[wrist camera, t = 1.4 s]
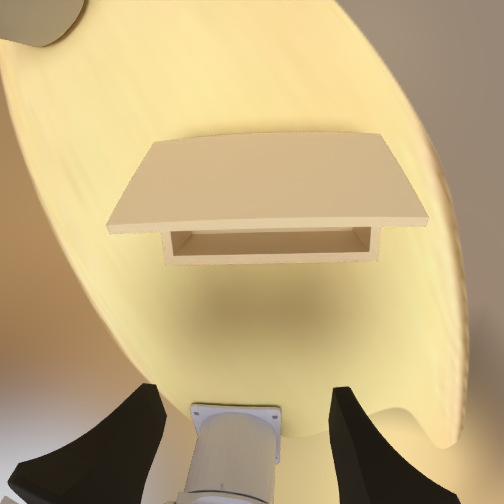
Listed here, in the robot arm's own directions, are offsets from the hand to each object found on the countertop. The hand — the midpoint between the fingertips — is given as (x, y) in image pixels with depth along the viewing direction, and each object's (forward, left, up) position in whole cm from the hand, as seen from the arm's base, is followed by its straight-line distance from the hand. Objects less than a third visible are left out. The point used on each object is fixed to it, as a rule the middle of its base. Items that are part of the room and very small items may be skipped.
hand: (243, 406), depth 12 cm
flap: (+8, -1, -3) cm, 9 cm away
